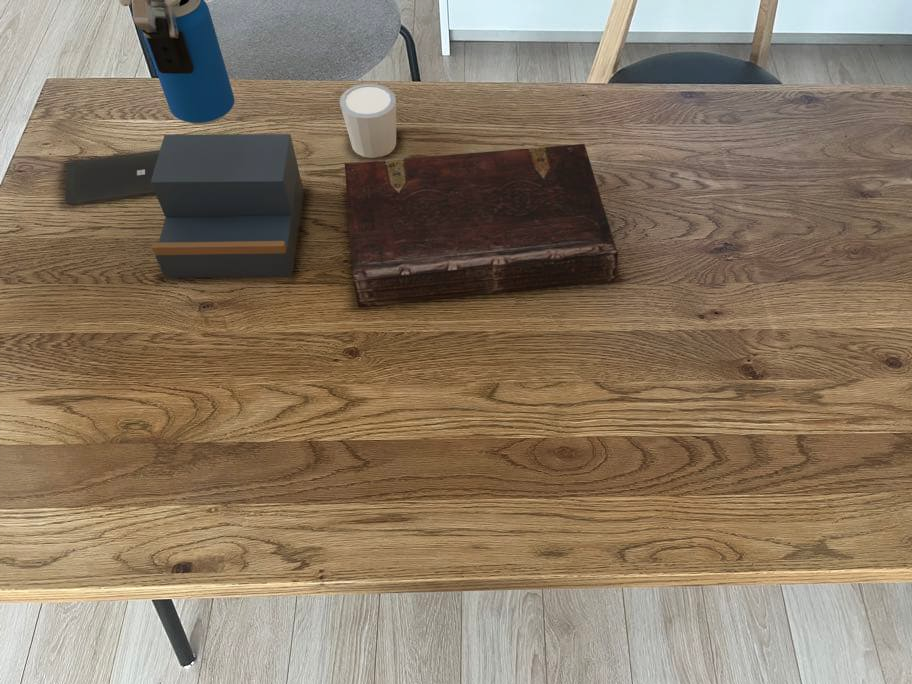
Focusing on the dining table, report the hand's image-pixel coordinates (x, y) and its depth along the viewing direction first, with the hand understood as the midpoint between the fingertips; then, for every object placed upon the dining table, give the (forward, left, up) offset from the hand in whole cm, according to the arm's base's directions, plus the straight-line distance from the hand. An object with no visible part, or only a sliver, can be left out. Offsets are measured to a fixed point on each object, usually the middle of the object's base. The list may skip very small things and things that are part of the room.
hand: (183, 47), depth 84 cm
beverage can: (0, 0, -7) cm, 7 cm away
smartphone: (-14, +8, -23) cm, 28 cm away
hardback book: (+28, -3, -23) cm, 37 cm away
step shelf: (0, -2, -23) cm, 23 cm away
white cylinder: (+15, +14, -23) cm, 31 cm away
